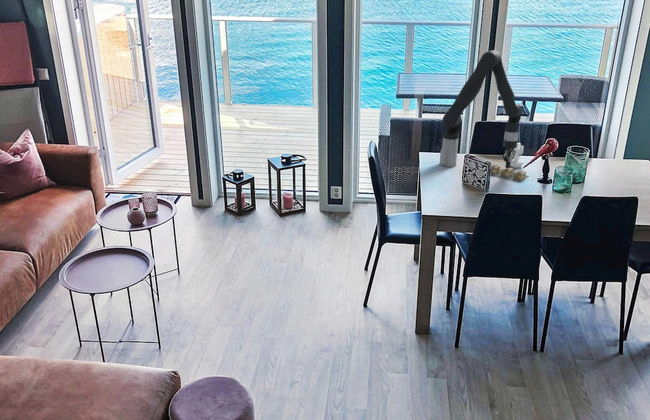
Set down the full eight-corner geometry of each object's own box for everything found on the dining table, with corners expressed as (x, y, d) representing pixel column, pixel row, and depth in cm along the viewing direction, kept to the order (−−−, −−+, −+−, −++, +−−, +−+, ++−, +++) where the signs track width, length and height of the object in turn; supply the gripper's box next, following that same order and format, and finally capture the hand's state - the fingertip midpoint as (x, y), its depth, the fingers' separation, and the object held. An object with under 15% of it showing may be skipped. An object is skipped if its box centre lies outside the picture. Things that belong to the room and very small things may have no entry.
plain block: (500, 175, 358) (501, 168, 357) (504, 173, 362) (504, 166, 360) (508, 177, 355) (509, 170, 354) (512, 175, 359) (513, 168, 357)
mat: (483, 174, 360) (483, 174, 360) (494, 168, 370) (494, 168, 370) (519, 183, 347) (519, 182, 347) (529, 176, 357) (529, 176, 357)
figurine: (515, 163, 379) (518, 140, 373) (524, 168, 371) (528, 144, 365) (505, 165, 377) (508, 141, 371) (514, 169, 369) (517, 145, 363)
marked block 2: (513, 178, 354) (514, 171, 352) (517, 176, 357) (517, 169, 355) (521, 180, 351) (522, 173, 349) (525, 178, 354) (526, 170, 352)
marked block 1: (487, 172, 363) (488, 165, 361) (491, 170, 367) (492, 163, 365) (495, 174, 360) (496, 167, 358) (499, 172, 364) (500, 165, 362)
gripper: (509, 135, 357) (506, 163, 364) (499, 140, 348) (496, 169, 354) (522, 137, 352) (518, 166, 359) (512, 142, 343) (508, 171, 350)
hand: (507, 167), depth 357 cm, fingers closed
